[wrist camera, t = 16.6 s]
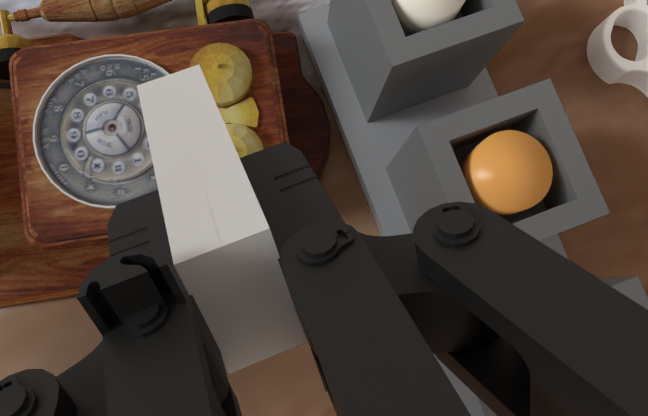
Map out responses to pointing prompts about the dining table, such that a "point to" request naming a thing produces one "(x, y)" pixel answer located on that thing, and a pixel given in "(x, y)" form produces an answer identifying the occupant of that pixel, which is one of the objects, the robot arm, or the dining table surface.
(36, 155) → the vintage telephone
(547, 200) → the button stand
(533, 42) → the dining table surface
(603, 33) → the white brass knuckles
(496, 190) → the orange button
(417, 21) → the cream button
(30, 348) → the dining table surface
